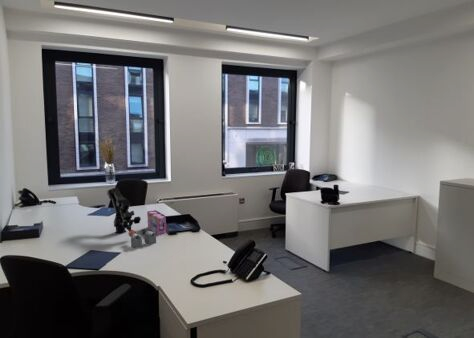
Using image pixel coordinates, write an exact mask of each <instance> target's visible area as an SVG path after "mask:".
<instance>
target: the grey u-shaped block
mask: <svg viewBox="0 0 474 338" xmlns="http://www.w3.org/2000/svg"><path fill="white" fill-rule="evenodd" d="M149 231H150V230H149ZM150 232H153V231H152V230H151V231H150ZM143 236H144V244H146V245H148V246H150V245H154V244H156V243H157V234H156V233H155V232H153V235H152V236H151V234H149V233H145V235H143Z"/></svg>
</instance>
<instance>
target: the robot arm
mask: <svg viewBox="0 0 474 338" xmlns="http://www.w3.org/2000/svg"><path fill="white" fill-rule="evenodd" d="M106 194H107V196H108V198H109V199H110V200H111V201H112V206H113V209H114V212H115V217H114V220H113V226H114V228H115V232H114V234H121V235H122V234H124V233H126V232H127V231H128V232H129V231H130V230H132V226H133V224H135V225H136V224H137V225H138V224H140V223H141V220H142V219H141V216H135V211H134V210H130V211H129V209H130V206H131V201H130V200H129V199H127V198H125V197H124V196H123V195H122V194H121V191H120V188H119V187H113V188H111V189H110V188H109V189H108V190H107V192H106ZM133 216H135V217H134V218H133Z"/></svg>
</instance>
